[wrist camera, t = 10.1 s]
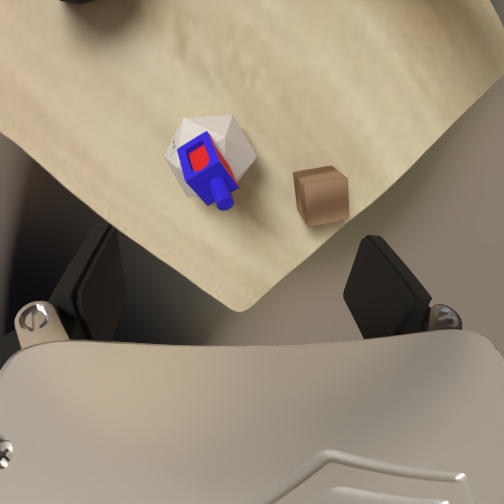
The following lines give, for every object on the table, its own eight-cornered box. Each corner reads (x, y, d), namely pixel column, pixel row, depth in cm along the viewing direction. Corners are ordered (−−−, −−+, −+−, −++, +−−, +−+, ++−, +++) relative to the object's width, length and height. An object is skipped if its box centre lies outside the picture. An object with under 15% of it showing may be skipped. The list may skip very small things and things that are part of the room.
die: (228, 96, 30) (164, 103, 22) (284, 147, 29) (230, 167, 22) (196, 148, 35) (136, 168, 28) (243, 196, 35) (189, 228, 28)
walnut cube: (292, 171, 35) (304, 185, 30) (331, 165, 35) (347, 178, 30) (297, 208, 37) (308, 227, 33) (333, 202, 37) (348, 218, 33)
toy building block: (196, 172, 27) (214, 227, 23) (176, 148, 24) (190, 203, 20) (225, 156, 26) (248, 208, 23) (206, 130, 23) (228, 181, 20)
